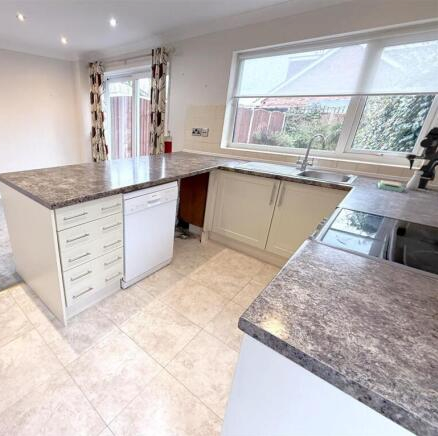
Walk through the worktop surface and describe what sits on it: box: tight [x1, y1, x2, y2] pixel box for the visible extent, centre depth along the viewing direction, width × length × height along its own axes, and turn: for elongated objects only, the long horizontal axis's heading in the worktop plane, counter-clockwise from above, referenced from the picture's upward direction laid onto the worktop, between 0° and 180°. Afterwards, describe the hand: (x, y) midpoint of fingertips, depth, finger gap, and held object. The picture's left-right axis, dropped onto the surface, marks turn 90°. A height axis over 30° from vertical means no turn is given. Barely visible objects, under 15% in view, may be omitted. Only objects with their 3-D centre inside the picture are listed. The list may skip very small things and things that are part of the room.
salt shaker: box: [405, 169, 423, 191], centre depth 170 cm, size 6×6×13 cm
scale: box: [377, 180, 404, 193], centre depth 172 cm, size 14×12×3 cm
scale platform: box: [380, 179, 403, 187], centre depth 173 cm, size 11×10×1 cm
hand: (419, 170), depth 168 cm, fingers open, 9 cm apart
